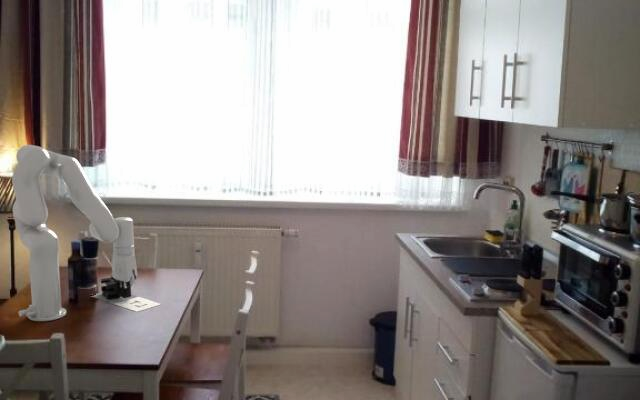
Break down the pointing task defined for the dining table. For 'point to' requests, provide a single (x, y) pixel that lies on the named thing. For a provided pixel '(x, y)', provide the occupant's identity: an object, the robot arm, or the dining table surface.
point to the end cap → (111, 288)
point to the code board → (137, 304)
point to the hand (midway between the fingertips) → (126, 297)
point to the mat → (113, 301)
